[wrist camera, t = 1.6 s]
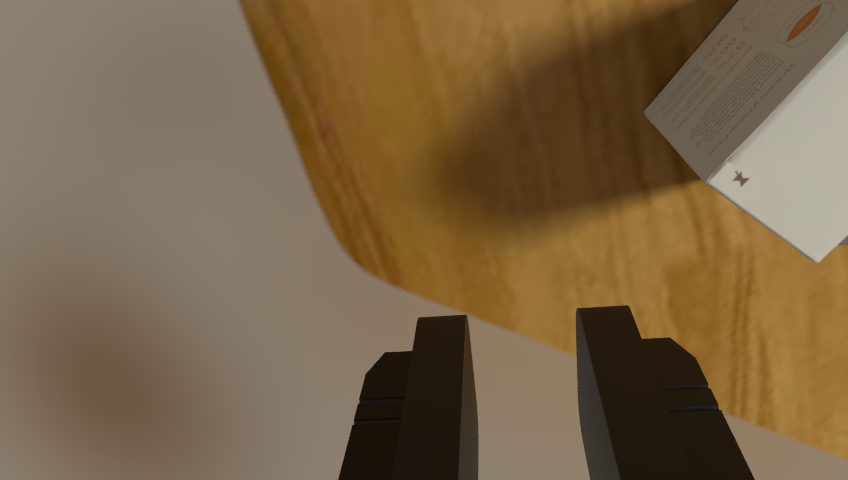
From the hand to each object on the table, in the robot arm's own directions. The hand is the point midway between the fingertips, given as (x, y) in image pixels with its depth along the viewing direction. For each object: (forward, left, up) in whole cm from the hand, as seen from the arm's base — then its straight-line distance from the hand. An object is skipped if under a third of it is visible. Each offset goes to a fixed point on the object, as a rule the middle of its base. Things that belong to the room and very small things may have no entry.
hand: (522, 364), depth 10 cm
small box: (+2, +12, -25) cm, 28 cm away
